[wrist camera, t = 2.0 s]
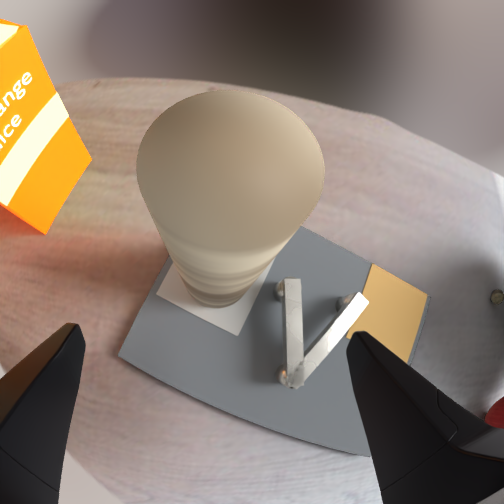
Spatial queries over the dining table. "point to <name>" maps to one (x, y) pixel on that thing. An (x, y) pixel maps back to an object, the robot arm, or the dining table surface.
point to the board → (276, 341)
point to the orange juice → (34, 134)
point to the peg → (228, 187)
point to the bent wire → (294, 358)
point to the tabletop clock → (497, 296)
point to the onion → (496, 414)
